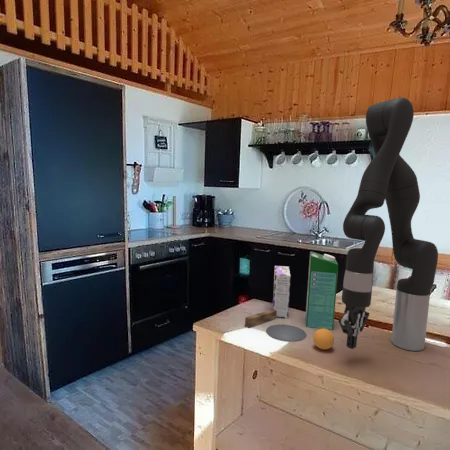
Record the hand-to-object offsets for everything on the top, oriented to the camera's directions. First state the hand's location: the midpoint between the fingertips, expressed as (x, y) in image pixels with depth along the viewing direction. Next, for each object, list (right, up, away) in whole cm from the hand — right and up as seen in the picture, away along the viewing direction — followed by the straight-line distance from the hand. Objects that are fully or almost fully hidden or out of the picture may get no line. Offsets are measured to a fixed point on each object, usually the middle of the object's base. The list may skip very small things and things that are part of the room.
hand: (351, 347), depth 100 cm
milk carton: (-2, -1, +27) cm, 27 cm away
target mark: (-15, -1, +18) cm, 23 cm away
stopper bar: (-23, 0, +26) cm, 34 cm away
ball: (-6, 0, +7) cm, 9 cm away
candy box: (-14, +1, +37) cm, 40 cm away
